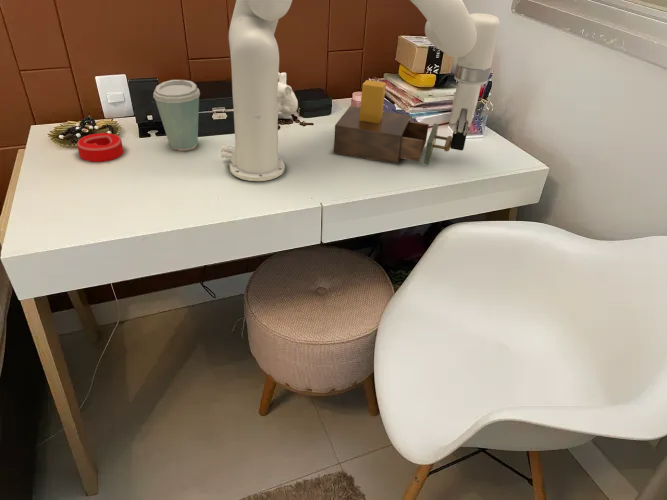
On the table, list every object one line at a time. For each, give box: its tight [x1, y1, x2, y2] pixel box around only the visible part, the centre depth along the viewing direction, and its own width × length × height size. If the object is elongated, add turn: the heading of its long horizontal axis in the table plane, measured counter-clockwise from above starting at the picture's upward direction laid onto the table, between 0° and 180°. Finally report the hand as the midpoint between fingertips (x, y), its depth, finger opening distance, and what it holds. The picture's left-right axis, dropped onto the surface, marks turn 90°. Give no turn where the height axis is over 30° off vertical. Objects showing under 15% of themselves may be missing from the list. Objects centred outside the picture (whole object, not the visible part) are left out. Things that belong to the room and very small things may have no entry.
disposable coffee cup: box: [152, 79, 201, 152], centre depth 126 cm, size 11×11×15 cm
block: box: [359, 79, 387, 124], centre depth 130 cm, size 5×4×9 cm
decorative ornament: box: [76, 132, 124, 163], centre depth 124 cm, size 10×10×3 cm
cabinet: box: [333, 105, 412, 165], centre depth 134 cm, size 16×14×7 cm
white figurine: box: [278, 71, 299, 120], centre depth 147 cm, size 8×7×12 cm
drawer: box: [399, 120, 453, 166], centre depth 132 cm, size 20×13×6 cm
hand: (456, 148), depth 130 cm, fingers closed
